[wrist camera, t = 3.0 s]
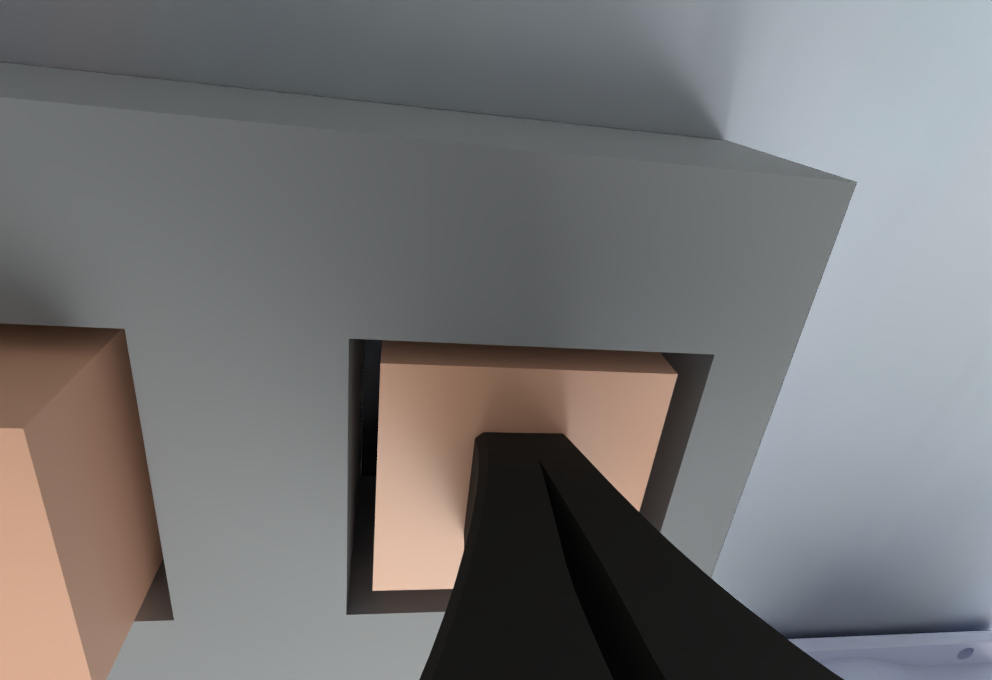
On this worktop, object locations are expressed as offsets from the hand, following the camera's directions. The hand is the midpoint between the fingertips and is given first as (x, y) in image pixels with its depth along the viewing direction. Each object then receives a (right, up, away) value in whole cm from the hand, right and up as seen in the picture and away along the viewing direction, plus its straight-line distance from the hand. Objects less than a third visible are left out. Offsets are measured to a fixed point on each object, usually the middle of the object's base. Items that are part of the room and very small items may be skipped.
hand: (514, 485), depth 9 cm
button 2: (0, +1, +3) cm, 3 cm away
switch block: (-4, +2, +2) cm, 5 cm away
